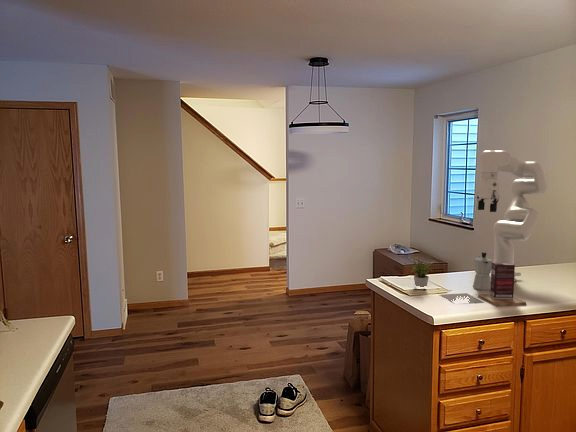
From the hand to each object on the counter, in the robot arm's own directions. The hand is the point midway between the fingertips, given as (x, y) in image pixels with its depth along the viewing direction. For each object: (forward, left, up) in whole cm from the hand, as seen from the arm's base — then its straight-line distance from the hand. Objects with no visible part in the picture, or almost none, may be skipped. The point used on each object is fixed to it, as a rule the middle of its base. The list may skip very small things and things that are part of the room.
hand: (486, 210), depth 215 cm
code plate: (+22, +17, -38) cm, 47 cm away
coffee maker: (+2, +2, -38) cm, 39 cm away
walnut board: (+6, +23, -38) cm, 45 cm away
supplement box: (+6, +23, -37) cm, 44 cm away
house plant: (+34, -2, -38) cm, 51 cm away
